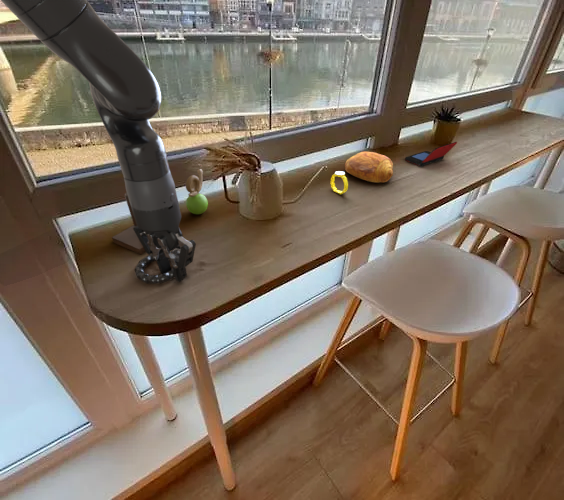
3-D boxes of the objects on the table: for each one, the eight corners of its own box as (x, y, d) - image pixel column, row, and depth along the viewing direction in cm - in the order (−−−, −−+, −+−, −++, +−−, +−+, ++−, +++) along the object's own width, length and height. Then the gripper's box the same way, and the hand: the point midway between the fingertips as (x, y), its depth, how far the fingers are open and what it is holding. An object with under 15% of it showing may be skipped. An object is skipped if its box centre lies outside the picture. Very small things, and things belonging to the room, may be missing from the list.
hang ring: (159, 291, 61) (157, 285, 60) (126, 275, 65) (124, 269, 64) (193, 264, 67) (191, 258, 66) (161, 251, 71) (159, 245, 70)
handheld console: (425, 153, 120) (431, 133, 115) (451, 162, 113) (458, 141, 108) (402, 160, 114) (407, 139, 110) (429, 170, 107) (435, 148, 103)
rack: (141, 254, 70) (125, 208, 63) (113, 242, 74) (96, 197, 67) (171, 234, 76) (160, 190, 70) (145, 224, 80) (132, 181, 73)
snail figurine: (215, 208, 86) (209, 165, 79) (201, 220, 82) (193, 175, 75) (198, 204, 88) (191, 162, 81) (183, 215, 84) (174, 171, 76)
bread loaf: (372, 194, 98) (380, 171, 92) (335, 171, 106) (340, 149, 100) (401, 180, 105) (409, 158, 99) (364, 160, 113) (370, 138, 107)
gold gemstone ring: (348, 194, 93) (351, 175, 89) (341, 197, 92) (344, 177, 88) (334, 187, 97) (336, 168, 93) (327, 189, 96) (329, 170, 92)
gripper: (106, 197, 54) (134, 274, 65) (167, 219, 49) (187, 300, 59) (142, 180, 60) (162, 254, 70) (201, 198, 54) (213, 276, 64)
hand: (173, 275), depth 64 cm, fingers open, 3 cm apart
